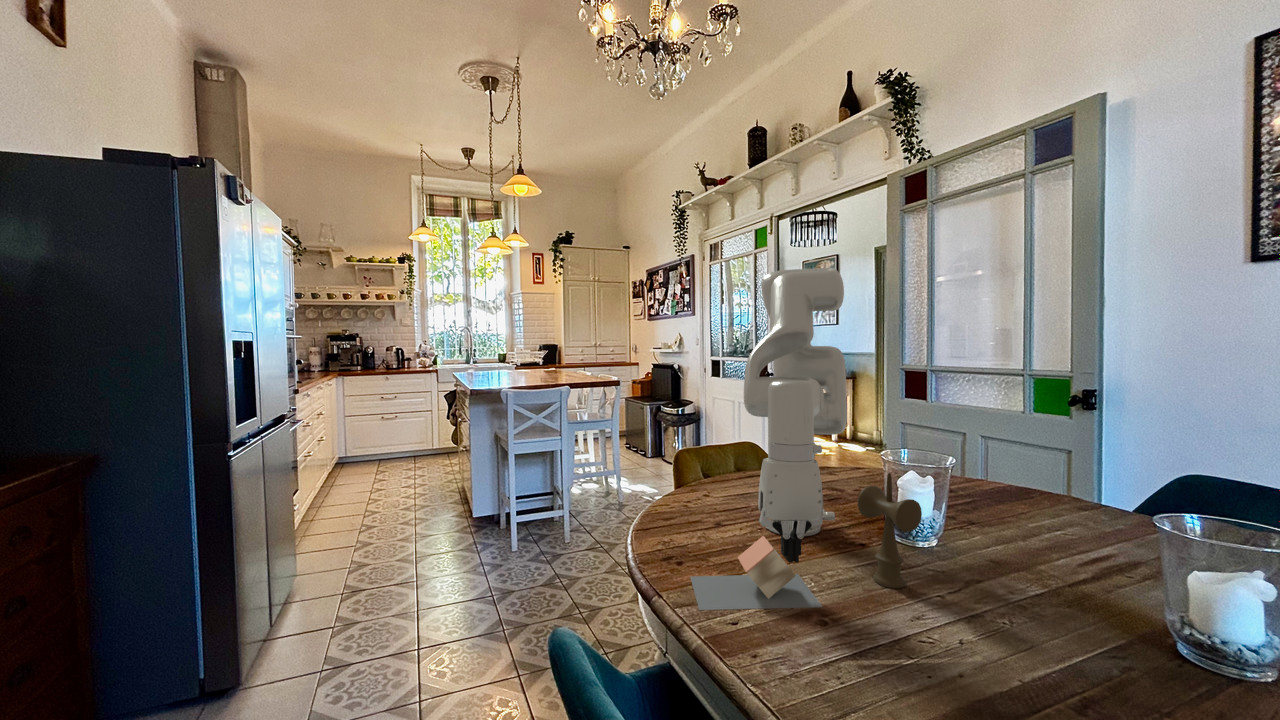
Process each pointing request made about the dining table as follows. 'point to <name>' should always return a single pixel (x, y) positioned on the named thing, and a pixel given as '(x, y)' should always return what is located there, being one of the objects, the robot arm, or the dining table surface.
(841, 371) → the robot arm
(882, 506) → the kendama
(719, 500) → the dining table surface
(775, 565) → the birch cube
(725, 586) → the slate mat
